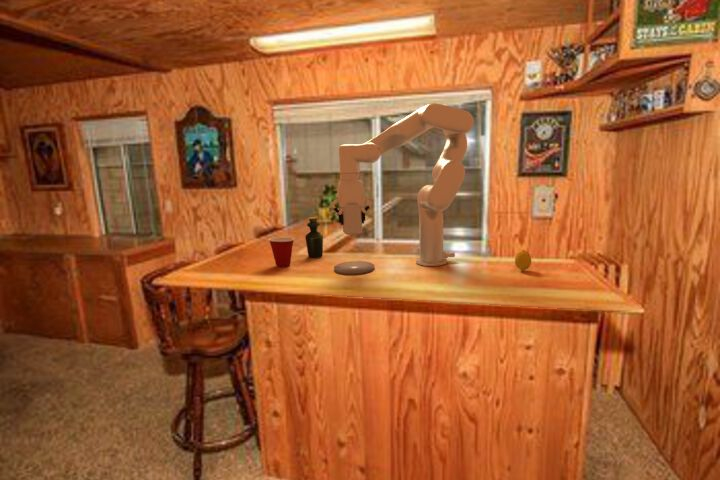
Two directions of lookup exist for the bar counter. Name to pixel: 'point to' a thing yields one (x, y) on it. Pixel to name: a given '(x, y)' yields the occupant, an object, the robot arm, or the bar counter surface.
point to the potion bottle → (314, 239)
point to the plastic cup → (282, 250)
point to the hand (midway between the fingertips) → (352, 223)
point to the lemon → (523, 260)
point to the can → (352, 219)
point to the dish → (354, 268)
